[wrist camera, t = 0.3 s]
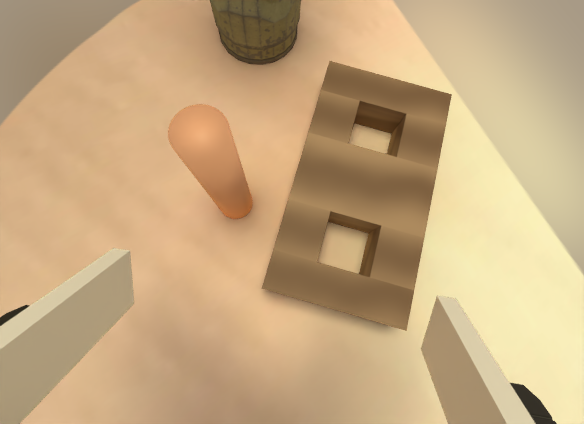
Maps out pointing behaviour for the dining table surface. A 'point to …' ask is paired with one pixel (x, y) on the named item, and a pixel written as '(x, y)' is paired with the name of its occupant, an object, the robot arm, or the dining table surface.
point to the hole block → (362, 195)
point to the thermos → (257, 28)
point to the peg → (211, 157)
